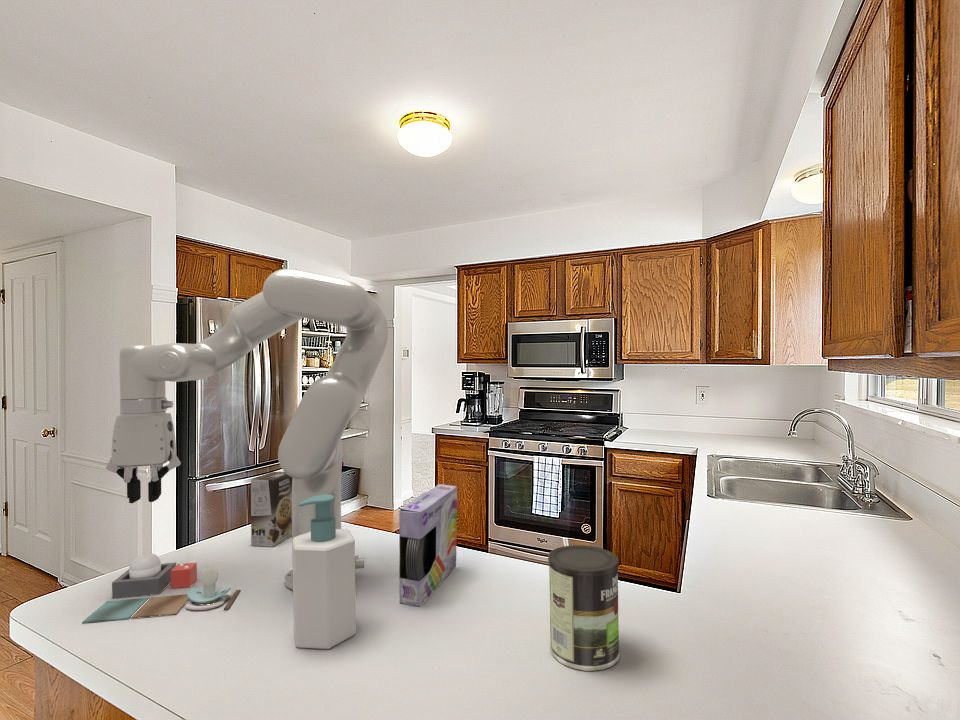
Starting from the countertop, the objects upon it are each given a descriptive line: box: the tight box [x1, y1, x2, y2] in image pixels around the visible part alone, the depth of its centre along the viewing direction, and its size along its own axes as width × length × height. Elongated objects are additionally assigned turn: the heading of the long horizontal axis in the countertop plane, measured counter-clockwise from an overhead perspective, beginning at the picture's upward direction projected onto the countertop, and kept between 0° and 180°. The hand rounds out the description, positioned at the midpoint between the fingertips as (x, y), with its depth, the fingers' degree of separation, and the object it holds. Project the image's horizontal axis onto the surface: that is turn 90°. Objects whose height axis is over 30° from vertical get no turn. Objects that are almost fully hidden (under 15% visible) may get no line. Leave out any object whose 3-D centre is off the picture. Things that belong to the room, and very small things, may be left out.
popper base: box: [111, 561, 198, 599], centre depth 101 cm, size 13×8×4 cm, turn 100°
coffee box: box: [250, 471, 293, 548], centre depth 126 cm, size 9×6×16 cm
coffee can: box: [547, 544, 621, 672], centre depth 76 cm, size 10×10×14 cm
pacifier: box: [185, 566, 232, 611], centre depth 93 cm, size 7×6×6 cm
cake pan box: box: [398, 483, 458, 608], centre depth 99 cm, size 19×5×18 cm, turn 161°
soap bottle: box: [291, 494, 357, 650], centre depth 82 cm, size 10×9×22 cm
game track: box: [81, 589, 241, 625], centre depth 92 cm, size 23×8×1 cm, turn 100°
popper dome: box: [128, 552, 162, 579], centre depth 100 cm, size 5×5×5 cm
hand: (144, 500), depth 100 cm, fingers open, 2 cm apart
